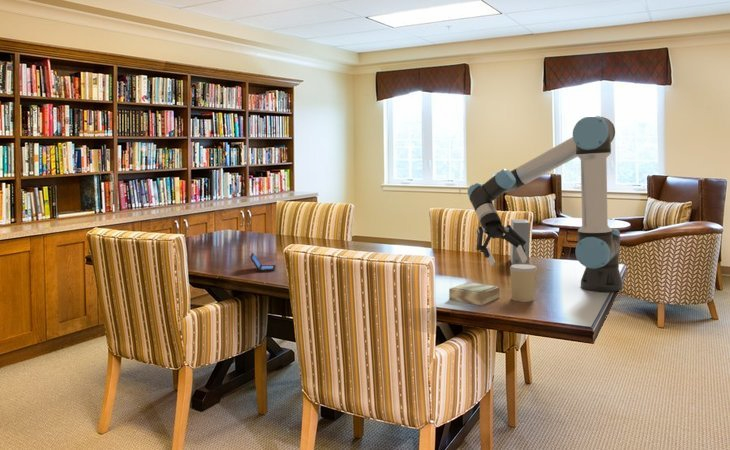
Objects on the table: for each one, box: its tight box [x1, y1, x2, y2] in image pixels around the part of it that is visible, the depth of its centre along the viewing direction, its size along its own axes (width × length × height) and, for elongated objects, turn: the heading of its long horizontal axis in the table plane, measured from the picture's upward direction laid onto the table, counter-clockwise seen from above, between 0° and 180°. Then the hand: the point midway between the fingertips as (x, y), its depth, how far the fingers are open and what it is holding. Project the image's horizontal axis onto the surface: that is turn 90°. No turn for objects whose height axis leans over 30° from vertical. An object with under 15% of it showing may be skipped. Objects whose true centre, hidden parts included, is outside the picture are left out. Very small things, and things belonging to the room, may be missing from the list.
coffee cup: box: [509, 263, 538, 303], centre depth 212 cm, size 9×9×12 cm
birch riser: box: [448, 281, 500, 306], centre depth 215 cm, size 13×13×4 cm
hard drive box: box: [509, 218, 531, 265], centre depth 279 cm, size 16×8×20 cm, turn 170°
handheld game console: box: [249, 252, 276, 273], centre depth 274 cm, size 12×11×7 cm
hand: (509, 262), depth 219 cm, fingers open, 13 cm apart
